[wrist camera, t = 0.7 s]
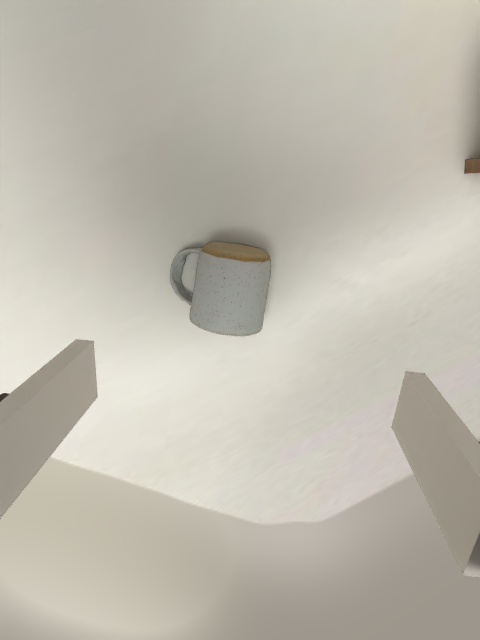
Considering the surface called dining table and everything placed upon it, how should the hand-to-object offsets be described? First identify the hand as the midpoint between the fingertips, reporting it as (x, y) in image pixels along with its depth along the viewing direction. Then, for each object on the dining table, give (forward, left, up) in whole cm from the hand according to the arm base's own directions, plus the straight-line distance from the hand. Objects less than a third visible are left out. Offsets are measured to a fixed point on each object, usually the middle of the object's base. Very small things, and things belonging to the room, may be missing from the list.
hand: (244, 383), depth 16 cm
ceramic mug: (+2, -4, -27) cm, 27 cm away
